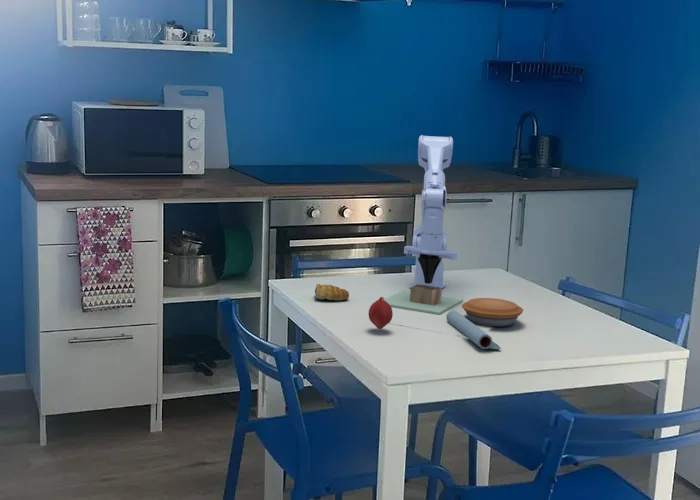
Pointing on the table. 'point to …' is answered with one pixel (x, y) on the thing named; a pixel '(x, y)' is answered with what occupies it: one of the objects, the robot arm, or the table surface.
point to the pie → (492, 311)
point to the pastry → (330, 292)
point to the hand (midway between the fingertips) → (428, 282)
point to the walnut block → (425, 294)
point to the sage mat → (404, 302)
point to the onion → (380, 313)
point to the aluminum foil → (471, 330)
